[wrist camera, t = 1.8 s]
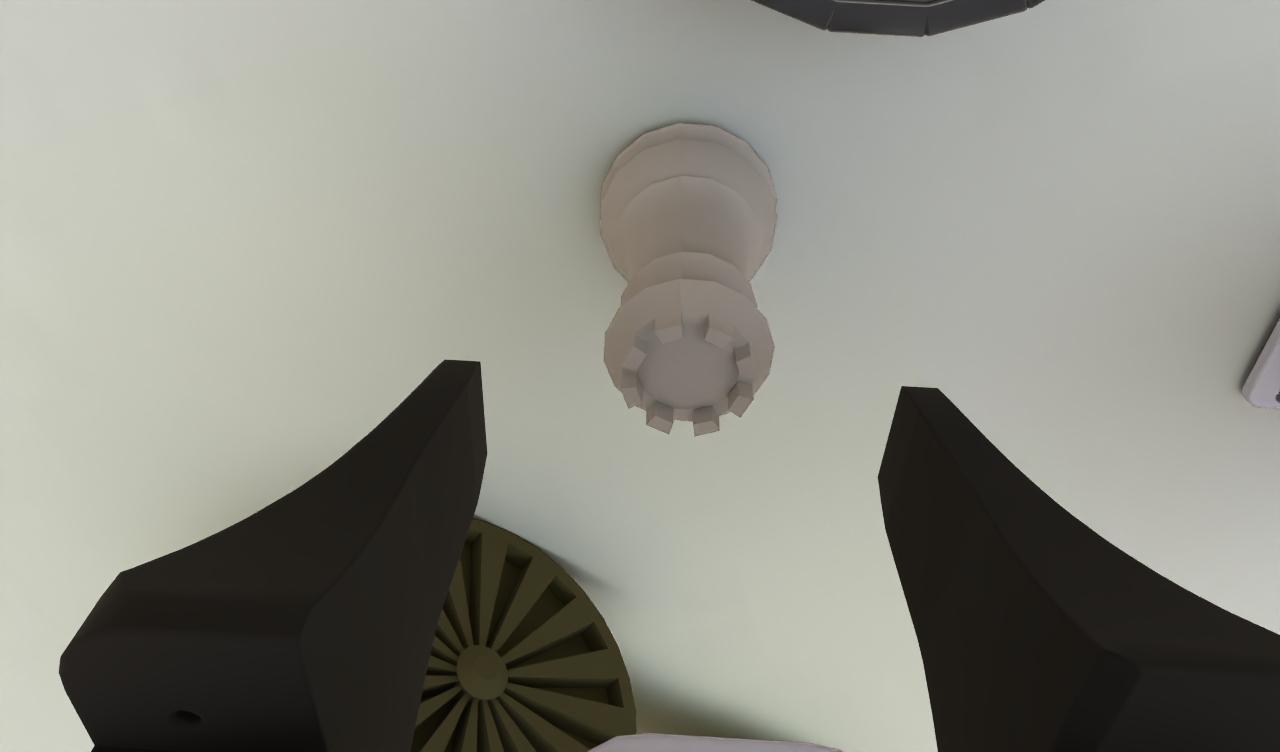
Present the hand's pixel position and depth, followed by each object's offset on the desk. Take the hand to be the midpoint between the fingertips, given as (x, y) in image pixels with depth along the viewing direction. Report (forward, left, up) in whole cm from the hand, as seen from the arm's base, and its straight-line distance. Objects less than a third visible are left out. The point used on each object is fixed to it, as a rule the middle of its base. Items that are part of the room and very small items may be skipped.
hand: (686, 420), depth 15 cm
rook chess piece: (0, 0, -9) cm, 9 cm away
